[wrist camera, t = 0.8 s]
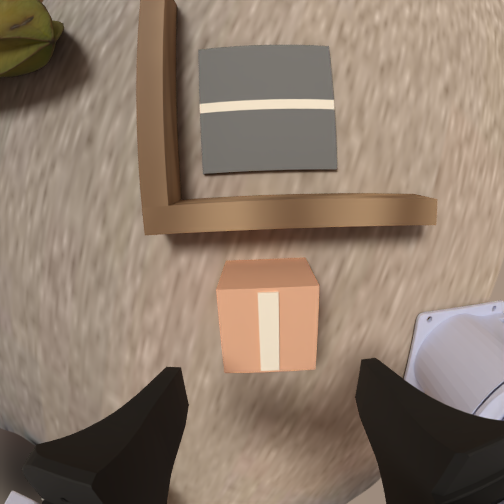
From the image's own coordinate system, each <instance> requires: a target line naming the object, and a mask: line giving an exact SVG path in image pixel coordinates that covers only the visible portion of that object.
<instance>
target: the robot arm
mask: <svg viewBox="0 0 504 504" xmlns="http://www.w3.org/2000/svg"><path fill="white" fill-rule="evenodd" d="M503 311H504V301H502V300H498V301H493V302H487V303H481V304H475V305H469V306H463V307H457V308H450V309H443V310H436V311H429V312H422V313H420V314H419V315H418V316H417V319H416V324H415V330H414V335H413V340H412V345H411V350H410V354H409V359H408V363H407V367H406V372H405V376H404V379H403V378H401V377H400V376H399V375H397V374H396V373H395V372H393V371H392V370H391V369H390V368H388V367H387V366H386V365H384V364H383V363H382V362H381V361H379V360H378V359H376V358H371V359H363V360H361V366H360V373H359V379H358V385H357V390H356V396H355V398H356V403H357V407H358V411H359V415H360V418H361V421H362V424H363V426H364V429H365V431H366V434H367V436H368V439H369V441H370V444H371V446H372V449H373V451H374V454H375V456H376V459H377V462H378V466H379V470H380V474H381V478H382V483H383V488H384V492H385V498H386V504H504V313H503ZM428 317H430V318H429V319H428V320H427V318H428ZM425 393H426V394H425ZM188 406H189V404H188V399H187V395H186V390H185V385H184V380H183V376H182V371H181V367H166V368H165V369H164V370H163V371H162V372H161V373H160V374H158V375H157V376H156V377H155V378H154V379H153V380H152V381H151V382H150V383H149V384H148V385H147V386H146V387H145V388H144V389H143V390H142V391H140V392H139V393H138V394H137V395H136V396H135V397H133V398H132V399H131V400H130V401H129V402H127V403H126V404H125V405H124V406H122V407H121V408H120V409H118V410H117V411H115V412H114V413H112V414H111V415H109V416H108V417H106V418H105V419H103V420H101V421H99V422H97V423H95V424H93V425H92V426H90V427H88V428H86V429H84V430H81V431H79V432H77V433H74V434H72V435H69V436H66V437H63V438H60V439H57V440H53V441H49V442H45V443H41V444H37V445H36V446H35V448H34V449H33V451H32V452H31V454H30V455H29V457H28V458H27V460H26V461H25V463H24V465H23V466H22V471H23V474H24V476H25V478H26V479H27V481H28V482H29V483H30V484H31V486H32V487H33V488H34V489H35V490H36V492H38V494H39V495H40V496H41V497H42V498H43V499H44V501H43V502H42V504H167V497H168V490H169V484H170V478H171V473H172V469H173V465H174V461H175V458H176V455H177V452H178V448H179V445H180V442H181V439H182V435H183V432H184V428H185V425H186V419H187V413H188ZM5 504H38V503H37V502H35V501H33V500H32V499H30V498H27V497H25V496H23V495H21V494H19V493H17V492H15V491H12V492H11V493H10V495H9V497H8V499H7V500H6V502H5Z"/></svg>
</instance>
